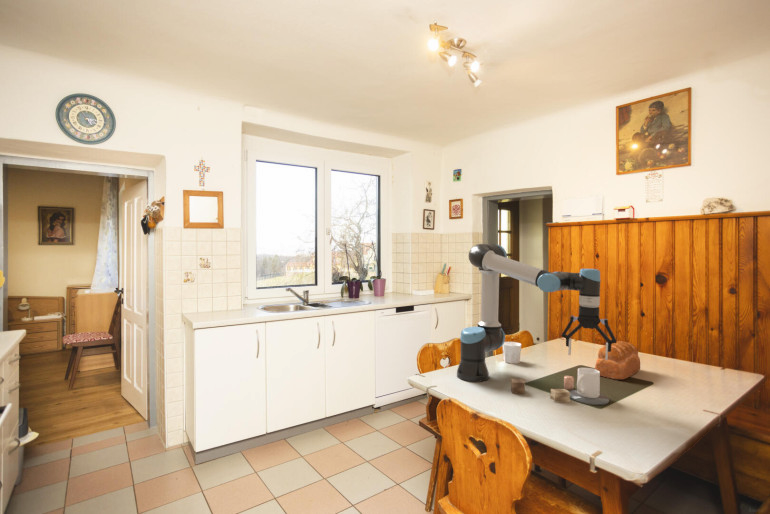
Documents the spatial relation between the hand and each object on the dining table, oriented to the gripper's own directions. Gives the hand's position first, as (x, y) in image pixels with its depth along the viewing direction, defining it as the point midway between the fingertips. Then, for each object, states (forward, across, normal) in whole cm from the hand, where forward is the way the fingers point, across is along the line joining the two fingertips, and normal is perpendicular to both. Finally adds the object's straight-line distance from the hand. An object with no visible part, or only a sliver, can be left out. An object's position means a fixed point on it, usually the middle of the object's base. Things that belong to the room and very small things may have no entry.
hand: (587, 356), depth 162 cm
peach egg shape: (+17, -7, +9) cm, 21 cm away
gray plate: (+17, +1, 0) cm, 17 cm away
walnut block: (+18, -26, -7) cm, 33 cm away
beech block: (+18, -9, -8) cm, 21 cm away
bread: (+18, +12, +45) cm, 50 cm away
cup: (+18, -38, +39) cm, 58 cm away
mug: (+17, 0, 0) cm, 17 cm away
